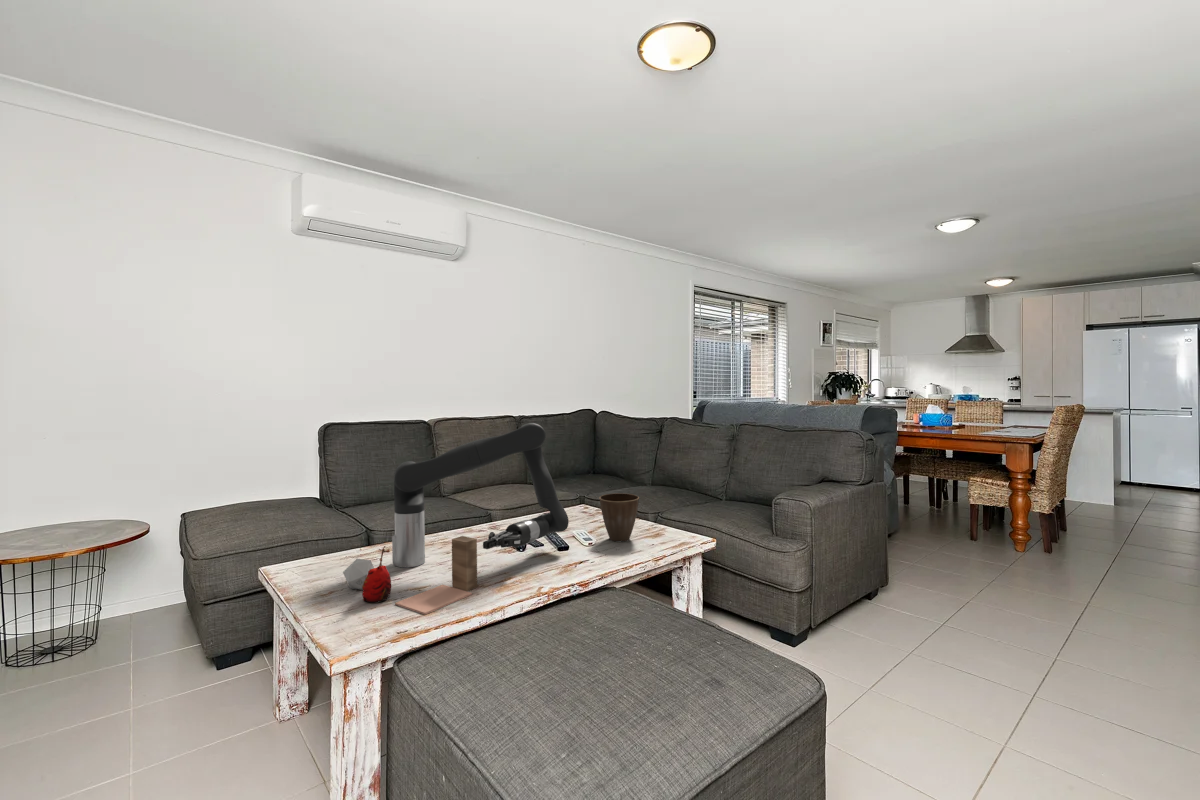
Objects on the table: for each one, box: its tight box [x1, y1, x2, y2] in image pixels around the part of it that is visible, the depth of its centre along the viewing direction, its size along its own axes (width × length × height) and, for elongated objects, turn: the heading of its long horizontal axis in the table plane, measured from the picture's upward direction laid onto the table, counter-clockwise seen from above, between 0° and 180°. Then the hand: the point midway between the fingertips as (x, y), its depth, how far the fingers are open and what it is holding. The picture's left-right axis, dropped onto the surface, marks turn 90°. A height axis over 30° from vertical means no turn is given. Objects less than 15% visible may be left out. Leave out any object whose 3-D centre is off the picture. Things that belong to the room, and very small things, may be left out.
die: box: [342, 558, 375, 591], centre depth 159 cm, size 8×9×10 cm
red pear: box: [361, 545, 392, 604], centre depth 150 cm, size 8×7×15 cm
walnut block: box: [451, 535, 478, 592], centre depth 159 cm, size 4×6×14 cm, turn 57°
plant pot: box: [599, 492, 640, 542], centre depth 208 cm, size 15×15×16 cm
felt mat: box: [394, 584, 473, 616], centre depth 150 cm, size 16×12×1 cm
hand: (484, 545), depth 165 cm, fingers closed
